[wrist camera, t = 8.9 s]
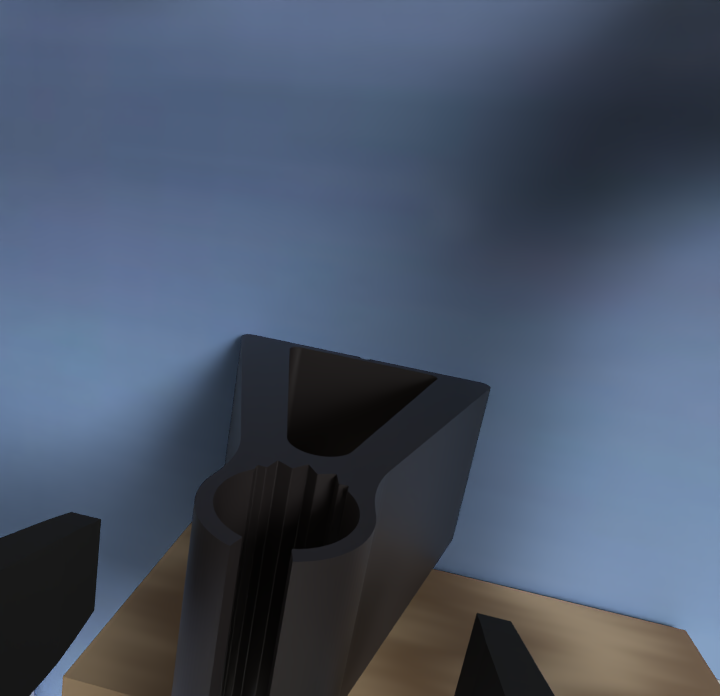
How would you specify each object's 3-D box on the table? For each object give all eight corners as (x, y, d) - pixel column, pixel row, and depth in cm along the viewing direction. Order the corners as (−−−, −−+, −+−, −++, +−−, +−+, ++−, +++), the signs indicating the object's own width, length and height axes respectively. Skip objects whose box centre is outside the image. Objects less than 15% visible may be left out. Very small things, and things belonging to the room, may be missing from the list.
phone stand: (225, 478, 21) (-36, 788, 9) (246, 331, 19) (-30, 478, 8) (451, 533, 20) (480, 948, 8) (490, 384, 19) (588, 634, 7)
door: (685, 630, 19) (856, 898, 11) (665, 684, 20) (814, 973, 12) (200, 512, 21) (62, 676, 13) (193, 564, 21) (58, 751, 14)
